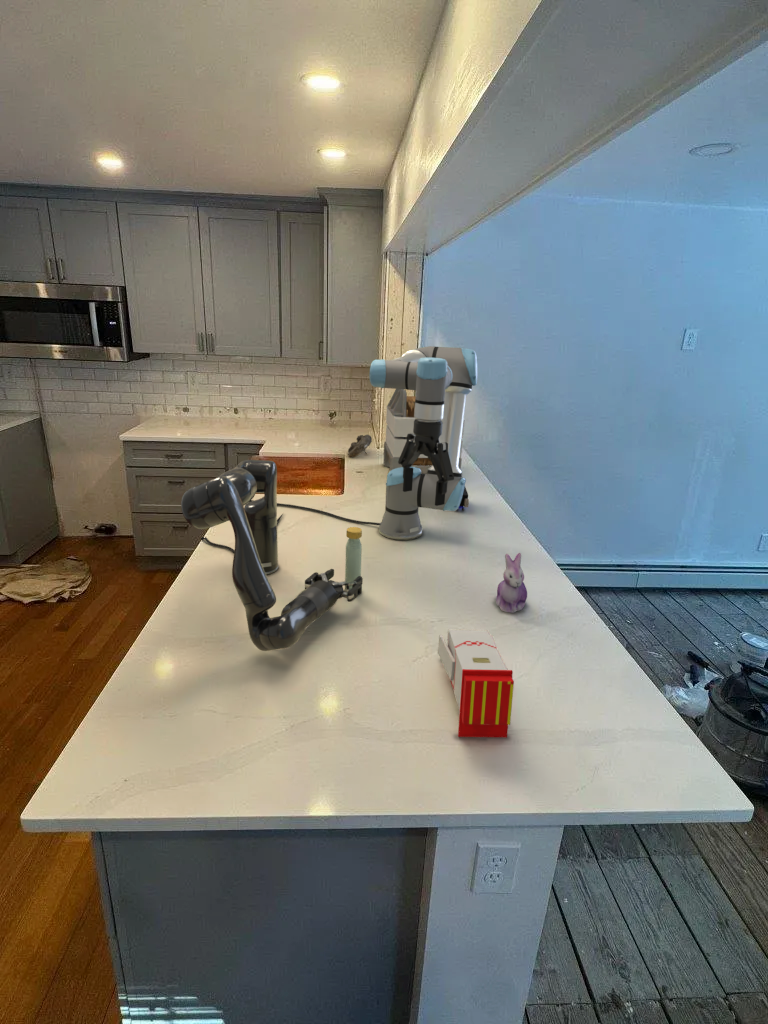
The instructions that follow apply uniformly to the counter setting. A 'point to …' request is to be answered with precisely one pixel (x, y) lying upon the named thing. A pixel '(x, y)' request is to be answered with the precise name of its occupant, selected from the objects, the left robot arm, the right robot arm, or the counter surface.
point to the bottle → (353, 560)
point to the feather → (279, 518)
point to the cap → (354, 533)
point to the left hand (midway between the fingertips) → (346, 575)
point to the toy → (478, 682)
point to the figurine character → (464, 500)
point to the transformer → (402, 430)
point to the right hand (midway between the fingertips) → (422, 497)
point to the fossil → (359, 445)
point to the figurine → (512, 586)
